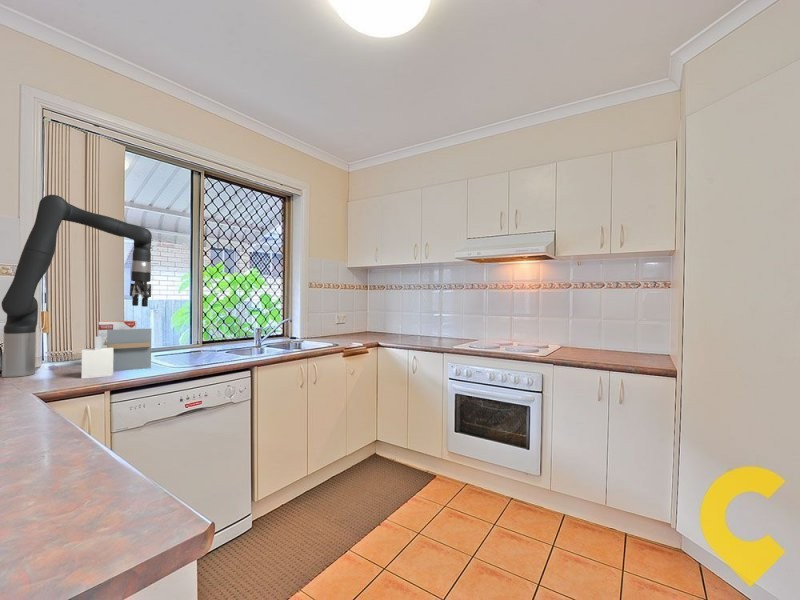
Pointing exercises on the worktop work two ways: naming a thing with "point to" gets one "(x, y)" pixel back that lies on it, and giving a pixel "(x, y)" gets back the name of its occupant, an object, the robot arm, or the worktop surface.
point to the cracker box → (112, 328)
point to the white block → (97, 361)
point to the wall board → (130, 348)
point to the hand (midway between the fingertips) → (139, 306)
